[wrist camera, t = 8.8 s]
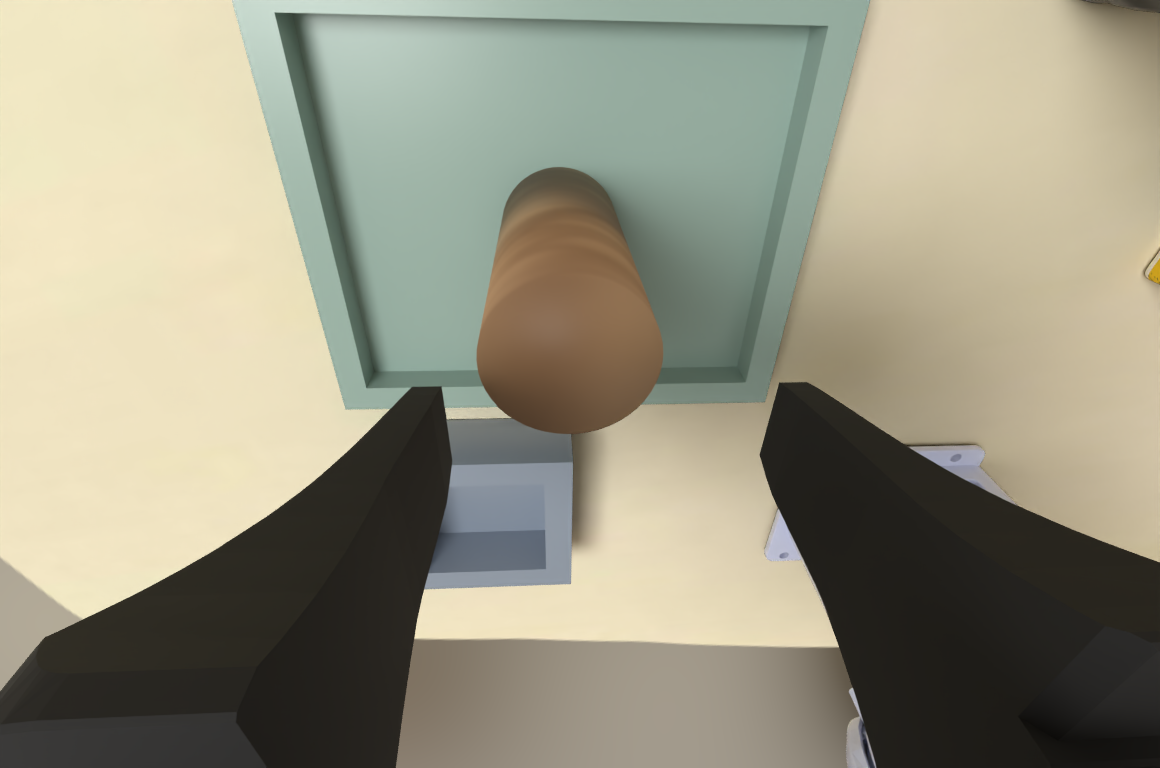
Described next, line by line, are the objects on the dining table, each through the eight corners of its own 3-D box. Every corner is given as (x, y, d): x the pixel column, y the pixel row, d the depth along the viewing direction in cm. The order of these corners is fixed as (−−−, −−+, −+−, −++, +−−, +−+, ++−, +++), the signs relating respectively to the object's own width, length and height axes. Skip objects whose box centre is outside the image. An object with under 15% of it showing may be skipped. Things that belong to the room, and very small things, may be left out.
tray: (843, -15, 16) (875, -18, 15) (751, 378, 24) (765, 402, 22) (253, -32, 15) (221, -37, 14) (358, 384, 23) (345, 409, 21)
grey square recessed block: (569, 417, 25) (573, 462, 22) (568, 535, 29) (570, 583, 27) (390, 420, 24) (373, 467, 22) (417, 540, 29) (405, 589, 26)
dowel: (620, 169, 18) (676, 276, 11) (610, 281, 20) (650, 434, 13) (500, 164, 18) (470, 271, 10) (503, 278, 20) (481, 433, 13)
